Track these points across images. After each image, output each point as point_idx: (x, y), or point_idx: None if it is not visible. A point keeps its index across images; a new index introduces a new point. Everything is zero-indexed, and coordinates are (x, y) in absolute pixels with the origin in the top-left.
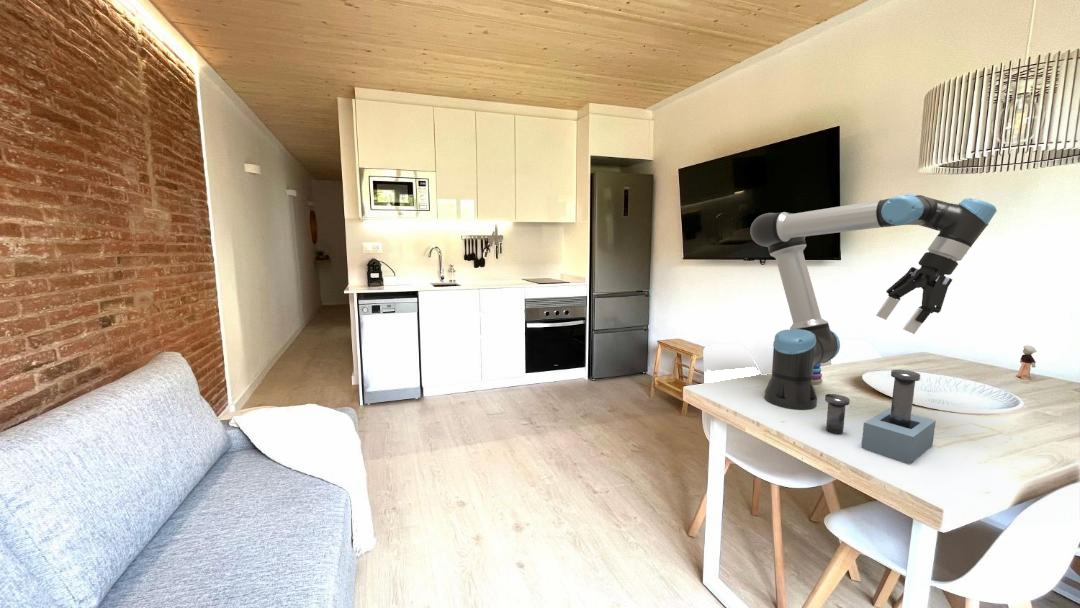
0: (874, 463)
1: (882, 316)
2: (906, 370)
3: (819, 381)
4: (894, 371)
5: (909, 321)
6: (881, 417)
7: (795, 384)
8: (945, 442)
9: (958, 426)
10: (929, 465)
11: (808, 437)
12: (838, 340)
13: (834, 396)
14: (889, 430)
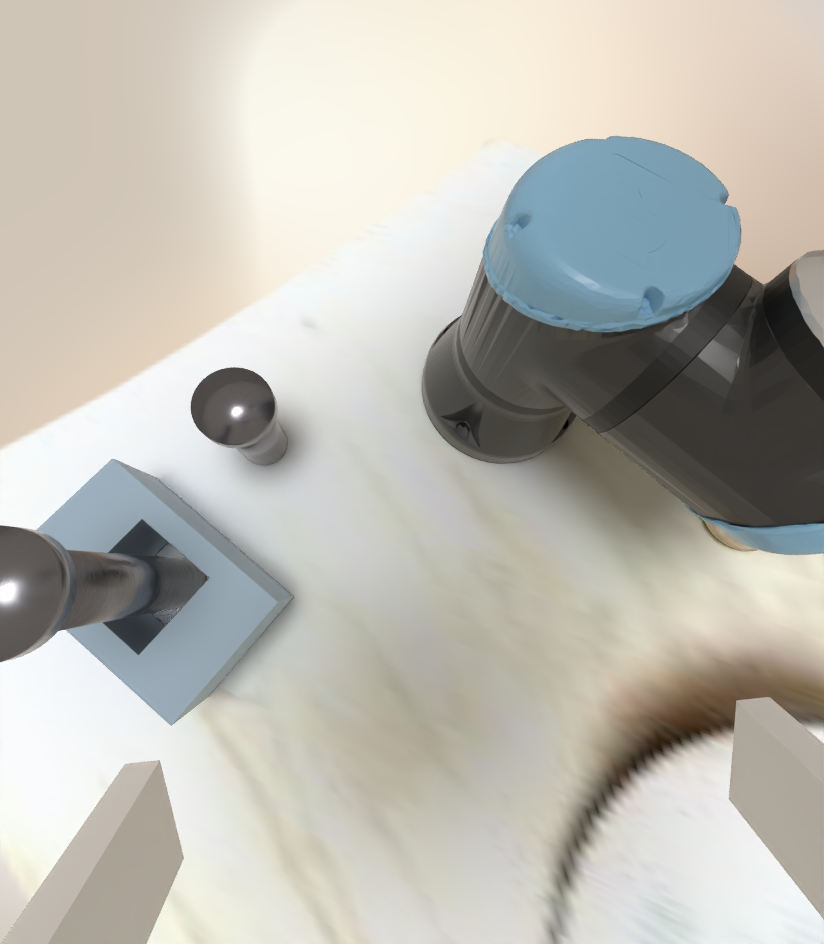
0: (59, 475)
1: (748, 768)
2: (40, 623)
3: (717, 533)
4: (12, 542)
5: (59, 892)
6: (171, 536)
7: (453, 346)
8: (246, 754)
9: (404, 878)
10: None
11: (206, 361)
12: (819, 539)
13: (244, 398)
14: (54, 515)
